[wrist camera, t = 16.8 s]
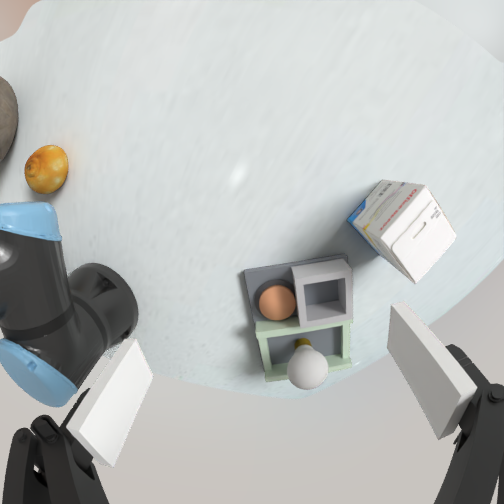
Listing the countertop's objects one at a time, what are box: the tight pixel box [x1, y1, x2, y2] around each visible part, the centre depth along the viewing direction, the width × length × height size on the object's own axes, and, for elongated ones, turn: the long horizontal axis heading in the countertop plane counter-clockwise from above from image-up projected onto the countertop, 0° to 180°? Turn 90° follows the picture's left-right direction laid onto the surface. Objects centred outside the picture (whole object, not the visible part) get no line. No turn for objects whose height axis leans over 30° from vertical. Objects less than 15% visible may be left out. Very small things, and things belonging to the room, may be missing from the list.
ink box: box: [347, 180, 456, 284], centre depth 31 cm, size 9×8×12 cm
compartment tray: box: [244, 254, 353, 382], centre depth 39 cm, size 15×19×6 cm
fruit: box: [25, 145, 68, 194], centre depth 33 cm, size 8×8×8 cm
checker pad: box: [259, 285, 296, 320], centre depth 39 cm, size 5×5×1 cm
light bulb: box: [287, 338, 328, 390], centre depth 37 cm, size 6×6×10 cm
